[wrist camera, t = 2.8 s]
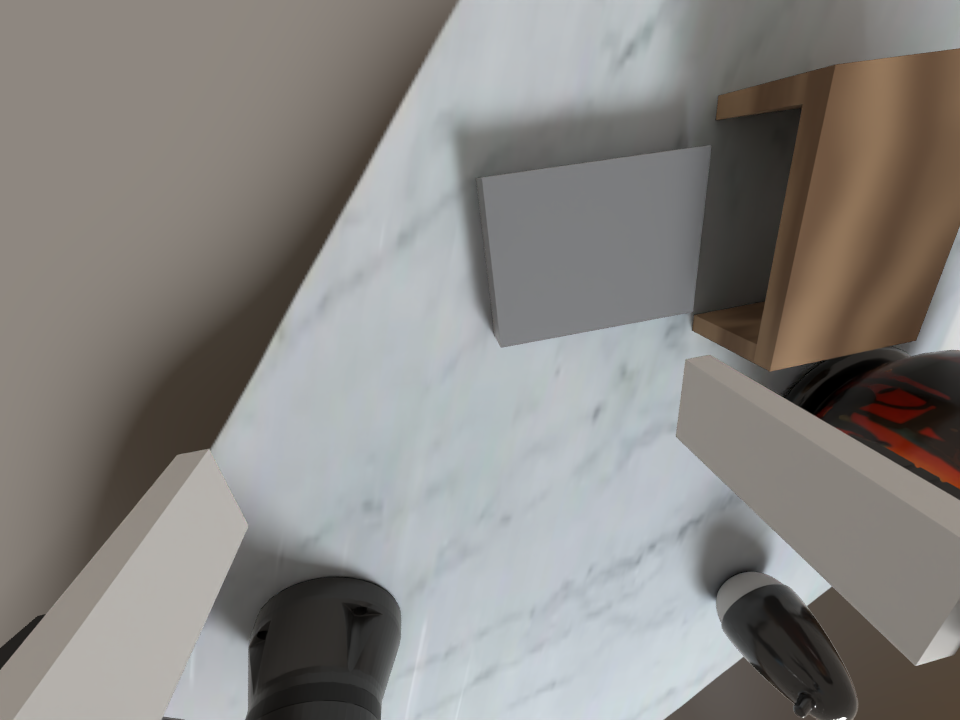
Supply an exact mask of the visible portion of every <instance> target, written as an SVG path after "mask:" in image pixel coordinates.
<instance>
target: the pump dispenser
mask: <svg viewBox="0 0 960 720" xmlns="http://www.w3.org/2000/svg"><path fill="white" fill-rule="evenodd" d="M716 609H717V613H718V616H719V619H720V621H721V623H722V629H723V631H724V633H725V634H726V636H727V637H728V639H729V640H730V641H731V642H732V644H733V645H734V646H735V647H736V648H737V649H738V651H739V652H740V653H741V654H742V655H743V656H744V657H745V658H746V659H747V660H748V662H749V663H750V664H751V665H752V666H753V667H754V668H755V669H756V670H757V671H758V672H759V673H760V674H761V675H762V676H763V677H764V678H765V679H766V680H767V681H768V682H770V683H771V684H772V685H773V686H774V687H775V688H776V689H777V690H778V691H779V692H781V693H782V694H783V695H784V696H785V697H786V698H788V699H789V700H790V701H791V702H793V703H794V704H795V705H794V706H793V710H794V712H795V714H796V715H797V716H798V717H800V718H805V717H806V716H807V715H808V714H809V715H811V716H812V717H814V718H816V719H818V720H853V718H854V717H855V715H856V713H857V709H858V700H857V696H856V692H855V690H854V686H853V683H852V681H851V678H850V676H849V674H848V672H847V670H846V668H845V666H844V664H843V662H842V660H841V658H840V656H839V655H838V653H837V651H836V649H835V648H834V646H833V644H832V643H831V641H830V639H829V638H828V636H827V634H826V633H825V631H824V630H823V628H822V627H821V625H820V624H819V622H818V621H817V620H816V618H815V617H814V615H813V614H812V613H811V611H810V610H809V609H808V607H807V606H806V605H805V603H804V602H803V601H802V600H801V598H800V597H799V596H798V595H797V594H796V593H795V592H794V591H793V590H792V589H791V588H790V587H788V586H786V585H783V584H782V583H781V582H779V581H778V580H776V579H775V578H773V577H771V576H769V575H766V574H763V573H759V572H744V573H740V574H737V575H735V576H733V577H731V578H730V579H728V580H727V581H726V582H725V583H724V584H723V585H722V586H721V588H720V590H719V592H718V594H717V598H716Z"/></svg>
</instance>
